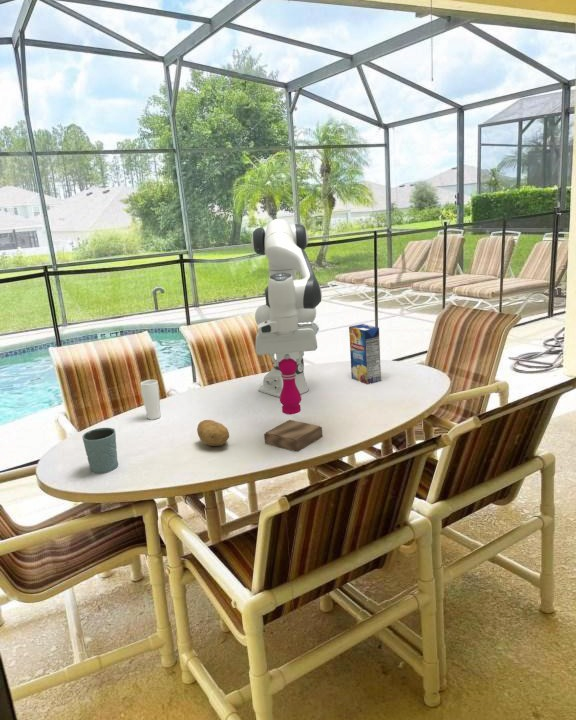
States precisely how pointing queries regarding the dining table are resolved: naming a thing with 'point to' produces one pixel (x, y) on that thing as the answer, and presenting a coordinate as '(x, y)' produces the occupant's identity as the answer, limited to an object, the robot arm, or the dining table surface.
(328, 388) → the dining table surface
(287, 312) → the robot arm
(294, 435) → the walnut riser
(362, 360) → the juice carton
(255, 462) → the dining table surface
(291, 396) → the pepper mill
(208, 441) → the potato
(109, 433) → the green textured cup
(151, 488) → the dining table surface
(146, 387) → the drinking glass
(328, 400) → the dining table surface
